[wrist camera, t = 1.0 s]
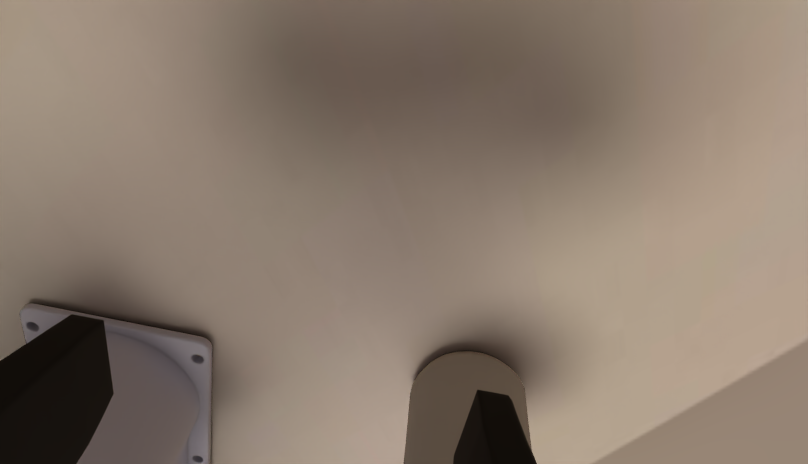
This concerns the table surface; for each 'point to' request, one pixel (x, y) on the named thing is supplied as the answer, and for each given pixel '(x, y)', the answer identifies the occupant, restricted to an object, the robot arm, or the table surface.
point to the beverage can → (454, 403)
